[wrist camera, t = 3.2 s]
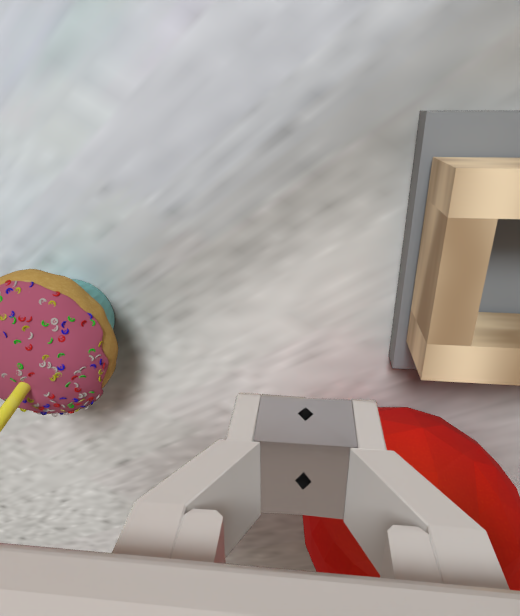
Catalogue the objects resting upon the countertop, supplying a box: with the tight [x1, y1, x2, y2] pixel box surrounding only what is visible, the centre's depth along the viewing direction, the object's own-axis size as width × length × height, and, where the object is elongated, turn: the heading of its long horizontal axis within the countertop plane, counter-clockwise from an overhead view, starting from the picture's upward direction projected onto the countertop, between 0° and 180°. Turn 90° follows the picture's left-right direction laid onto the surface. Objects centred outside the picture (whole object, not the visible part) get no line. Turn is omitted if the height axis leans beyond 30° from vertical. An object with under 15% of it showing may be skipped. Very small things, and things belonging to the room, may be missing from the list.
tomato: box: [303, 407, 520, 591], centre depth 26 cm, size 12×13×12 cm
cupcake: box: [0, 269, 118, 432], centre depth 24 cm, size 9×8×12 cm
